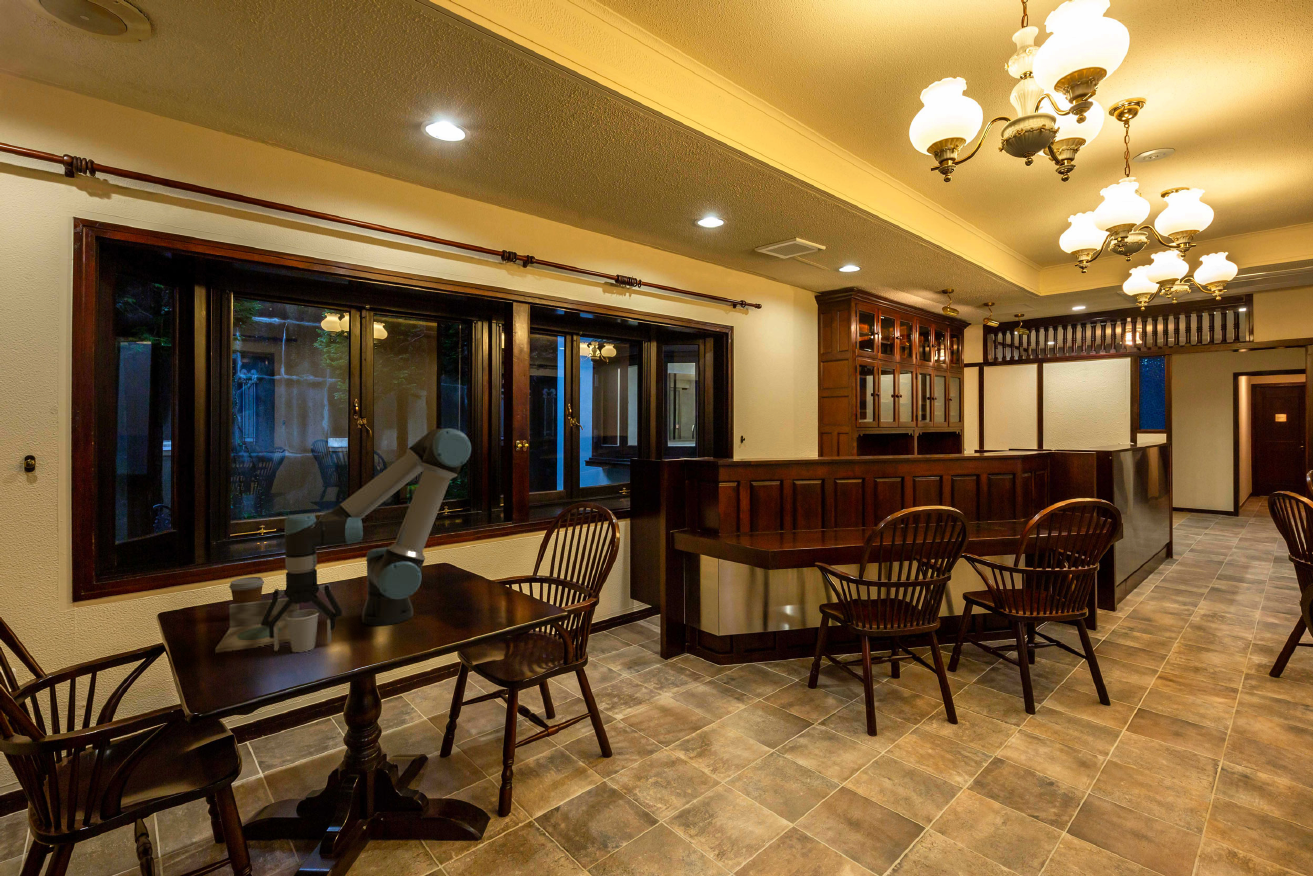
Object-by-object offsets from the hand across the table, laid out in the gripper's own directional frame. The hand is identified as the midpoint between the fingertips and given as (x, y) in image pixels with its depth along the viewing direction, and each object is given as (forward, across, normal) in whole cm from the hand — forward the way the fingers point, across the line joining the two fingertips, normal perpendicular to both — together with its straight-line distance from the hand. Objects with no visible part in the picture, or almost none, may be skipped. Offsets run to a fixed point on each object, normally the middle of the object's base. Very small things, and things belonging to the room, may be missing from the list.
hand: (303, 645), depth 170 cm
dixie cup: (+1, 0, 0) cm, 1 cm away
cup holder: (+1, +13, -16) cm, 21 cm away
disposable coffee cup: (+1, +20, -40) cm, 45 cm away
